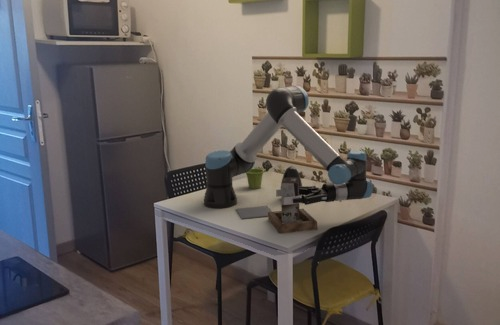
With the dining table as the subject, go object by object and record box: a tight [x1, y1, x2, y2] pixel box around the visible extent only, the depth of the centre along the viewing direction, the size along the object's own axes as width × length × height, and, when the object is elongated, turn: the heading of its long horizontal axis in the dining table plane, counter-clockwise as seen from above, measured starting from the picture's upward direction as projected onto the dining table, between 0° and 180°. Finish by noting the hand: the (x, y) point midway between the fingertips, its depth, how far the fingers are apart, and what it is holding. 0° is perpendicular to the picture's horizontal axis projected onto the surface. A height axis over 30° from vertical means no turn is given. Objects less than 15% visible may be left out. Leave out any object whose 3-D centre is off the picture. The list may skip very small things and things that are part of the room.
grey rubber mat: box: [235, 205, 273, 220], centre depth 211 cm, size 14×13×1 cm
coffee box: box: [280, 177, 300, 224], centre depth 194 cm, size 9×6×16 cm
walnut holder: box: [267, 208, 318, 234], centre depth 196 cm, size 15×17×3 cm
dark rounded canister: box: [281, 165, 303, 196], centre depth 228 cm, size 10×10×15 cm
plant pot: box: [245, 168, 265, 190], centre depth 250 cm, size 9×9×9 cm
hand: (280, 197), depth 193 cm, fingers closed on coffee box, 10 cm apart
